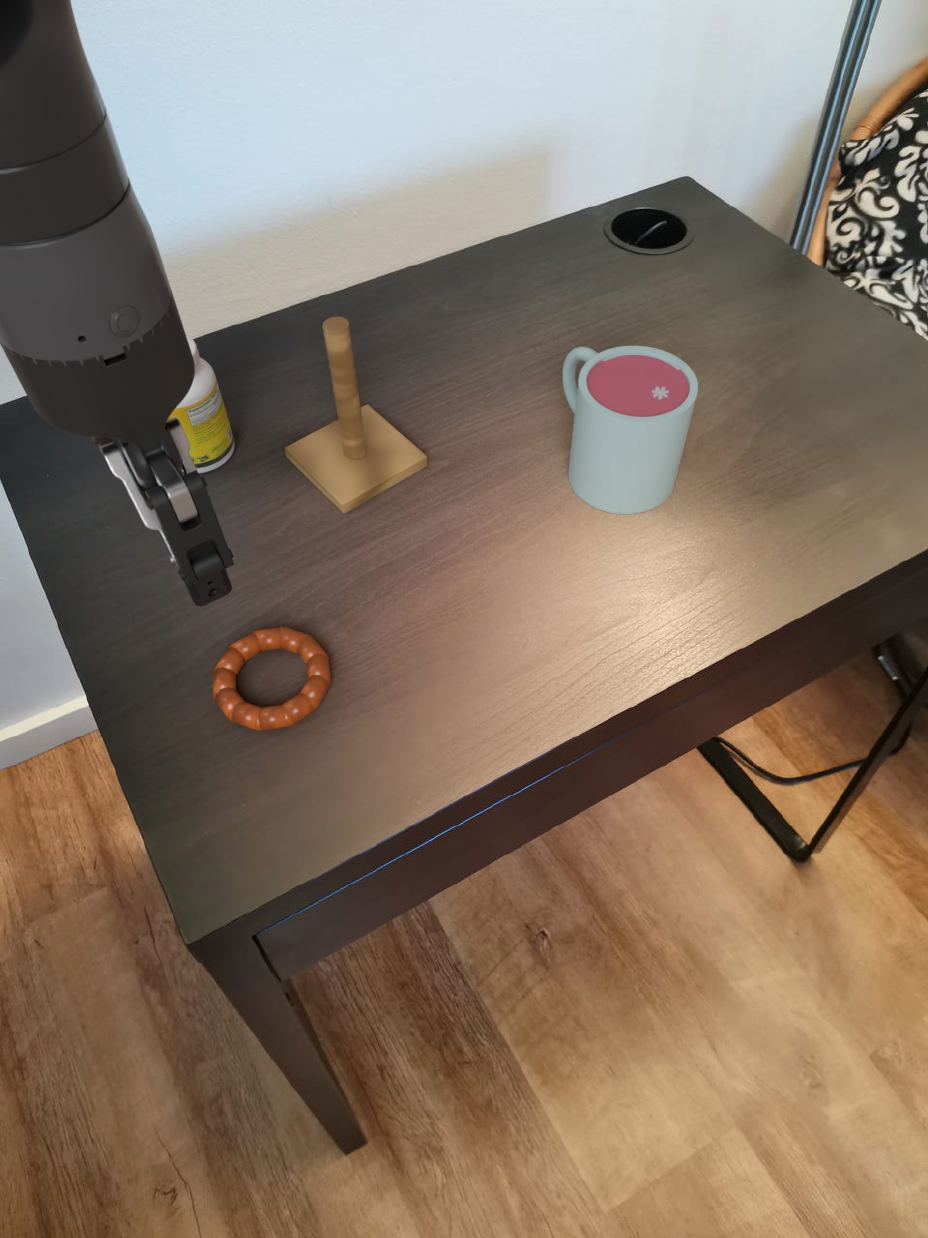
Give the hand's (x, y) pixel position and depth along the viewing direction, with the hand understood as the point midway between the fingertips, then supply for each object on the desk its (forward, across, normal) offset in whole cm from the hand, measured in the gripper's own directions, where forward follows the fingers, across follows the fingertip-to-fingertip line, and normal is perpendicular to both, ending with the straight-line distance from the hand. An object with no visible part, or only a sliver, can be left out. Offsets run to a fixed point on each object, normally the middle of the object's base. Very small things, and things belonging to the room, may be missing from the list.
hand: (184, 547), depth 51 cm
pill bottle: (+17, -26, +7) cm, 31 cm away
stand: (+16, -17, +18) cm, 30 cm away
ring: (+16, 0, +2) cm, 16 cm away
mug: (+17, -5, +37) cm, 41 cm away
